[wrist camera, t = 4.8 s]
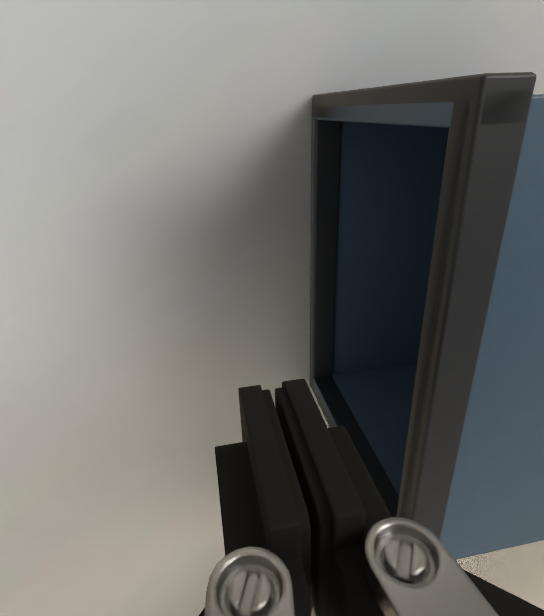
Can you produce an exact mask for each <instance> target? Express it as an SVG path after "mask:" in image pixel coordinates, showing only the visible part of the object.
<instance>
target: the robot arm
mask: <svg viewBox="0 0 544 616" xmlns="http://www.w3.org/2000/svg"><path fill="white" fill-rule="evenodd" d="M239 403H240V415H241V427H242V439H243V442H241V443H235V444H229V445H223V446H216V447H215V455H216V465H217V475H218V486H219V496H220V506H221V516H222V526H223V536H224V546H225V557H224V558H223V559H222V560H221V561H220V562H219V563H218V564H217V565H216V567H215V568H214V570H213V572H212V574H211V575H210V578H209V583H208V587H207V593H206V603H205V608H204V609H203V611H202V612H201V613H200V615H199V616H310V596H311V600H312V603H313V607H314V611H315V614H316V616H544V610H542V609H540V608H538V607H536V606H534V605H532V604H530V603H529V602H527V601H525V600H523V599H521V598H519V597H517V596H515V595H513V594H511V593H509V592H507V591H505V590H503V589H501V588H499V587H497V586H495V585H493V584H491V583H489V582H487V581H485V580H483V579H481V578H479V577H477V576H475V575H473V574H471V573H469V572H467V571H465V570H463V569H462V568H461V567H460V565H459V564H458V563H457V561H456V560H455V559H454V558H453V556H452V555H451V554H450V552H449V551H448V550H447V549H446V547H445V546H444V545H443V544H442V542H441V541H440V540H439V539H438V538H437V536H436V535H435V534H434V533H433V532H432V531H431V530H430V529H428V528H426V527H425V526H423V525H422V524H420V523H419V522H416V521H413V520H410V519H407V518H399V517H392V516H391V514H390V512H389V511H388V509H387V507H386V505H385V503H384V501H383V499H382V497H381V495H380V493H379V491H378V489H377V487H376V485H375V484H374V482H373V480H372V478H371V476H370V474H369V472H368V470H367V468H366V466H365V464H364V462H363V460H362V458H361V457H360V455H359V453H358V451H357V449H356V447H355V445H354V443H353V441H352V439H351V437H350V435H349V433H348V432H347V430H346V428H345V427H343V426H338V427H332V428H327V426H326V424H325V422H324V420H323V417H322V415H321V413H320V411H319V409H318V407H317V404H316V402H315V400H314V398H313V396H312V394H311V391H310V389H309V387H308V385H307V383H306V381H305V379H297V380H290V381H284V382H282V388H276V389H275V405H274V402H273V399H272V396H271V393H270V390H262V389H261V386H260V385H256V386H249V387H242V388H239ZM275 407H276V409H275Z"/></svg>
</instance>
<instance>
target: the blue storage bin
mask: <svg viewBox="0 0 544 616" xmlns="http://www.w3.org/2000/svg"><path fill="white" fill-rule="evenodd" d="M535 81H536V74H534V73H532V72H521V73H485V74H477V75H469V76H461V77H453V78H445V79H437V80H430V81H422V82H414V83H406V84H398V85H390V86H382V87H374V88H366V89H358V90H350V91H342V92H335V93H327V94H319V95H313V96H312V151H311V305H310V386H311V388H312V390H313V392H314V394H315V396H316V399H317V401H318V403H319V405H320V407H321V409H322V412H323V414H324V416H325V418H326V420H327V422H328V425H329V427H330V428H332V427H338V426H343V427H345V428H346V430H347V432H348V433H349V435H350V437H351V439H352V441H353V443H354V445H355V447H356V449H357V451H358V453H359V455H360V457H361V458H362V460H363V462H364V464H365V466H366V468H367V470H368V472H369V474H370V476H371V478H372V480H373V482H374V484H375V485H376V487H377V489H378V491H379V493H380V495H381V497H382V499H383V501H384V503H385V505H386V507H387V509H388V511H389V512H390V514H391V516H392V517H399V518H407V519H410V520H413V521H416V522H419V523H420V524H422V525H423V526H425V527H426V528H428V529H430V530H431V531H432V532H433V533H434V534H435V535H436V536H437V538H438V539H439V540H440V541H441V542H442V544H443V545H444V546H445V547H446V549H447V550H448V551H449V552H450V554H451V555H452V556H453V558H454V559H455V560H456V559H460V558H465V557H469V556H474V555H478V554H483V553H487V552H492V551H496V550H501V549H505V548H510V547H514V546H519V545H523V544H528V543H532V542H537V541H541V540H544V94H543V95H533V90H534V86H535Z"/></svg>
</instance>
